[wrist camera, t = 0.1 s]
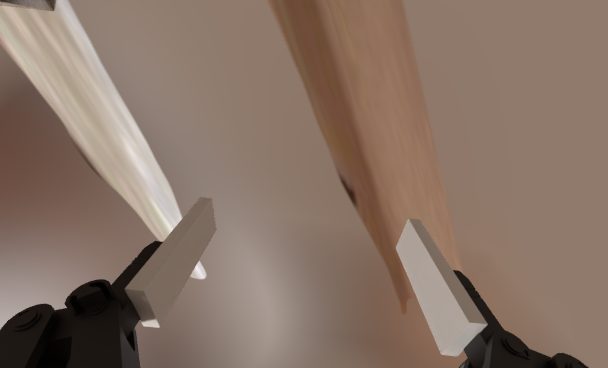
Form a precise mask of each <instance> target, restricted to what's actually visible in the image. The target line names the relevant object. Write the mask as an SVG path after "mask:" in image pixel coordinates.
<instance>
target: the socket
mask: <svg viewBox="0 0 608 368" xmlns="http://www.w3.org/2000/svg"><path fill="white" fill-rule="evenodd" d="M0 5H1V6H10V7H19V8H28V9H37V10H46V11H53V8H52V6H51V3H50V0H0Z"/></svg>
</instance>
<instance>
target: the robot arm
mask: <svg viewBox="0 0 608 368" xmlns="http://www.w3.org/2000/svg"><path fill="white" fill-rule="evenodd" d="M215 231H216V225H215V218H214V210H213V203H212V199H211V198H203V197H200V198H199V199H198V201H197V202H196V203H195V204H194V205H193V207H192V208H191V209H190V210H189V211H188V213H187V214H186V215H185V216H184V218H183V219H182V220H181V221H180V222H179V224H178V225H177V226H176V227H175V228H174V230H173V231H172V232H171V233H170V234H169V236H168V237H167V238H166V239H165V241H164V242H160V241H154V242H153V243H151V244H150V245H148V246H147V247H145V248H144V249H143V250H142V251H141V253H140V254H139V255H138V257H137V258H135V260H133V261H132V263H131V264H130V265H129V266H128V267H127V268H126V269H125V270H124V271H123V273H122V274H121V275H120V276H119V277H118V278H117V279H116V280H115V282H114V283H113V284H112V285H111V284H110V283H109V281H107V280H102V279H101V280H94V281H90V282H88V283H85V284H83V285H81V286H80V287H78V288H77V289H75V290H74V291H73V292H72V293H71V294H70V295H69V296H68V297H67V299H66V302H65V305H66V307H67V308H65V309H59V310H54V308H53V307H52V306H51V305H49V304H38V305H35V306H32V307H29V308H27V309H25V310H23V311H21V312H19V313H17V314H16V315H15V316H13V317H12V318H11V319H10V320H8V321H7V323H6V324H5V325H4V326H3V327H2V328H1V330H0V368H140V361H139V353H138V345H137V337H136V331H135V328H134V327H135V326H136V324H137V323H138V321H139V320H141V322H142V324H143V326H147V327H158V328H160V327H161V325H162V323H163V322H164V320H165V318H166V317H167V315H168V313H169V311H170V310H171V308H172V306H173V304H174V303H175V301H176V299H177V297H178V296H179V294H180V292H181V290H182V289H183V287H184V285H185V283H186V282H187V280H188V278H189V277H190V275H191V273H192V271H193V270H194V268H195V266H196V264H197V263H198V261H199V259H200V257H201V256H202V254H203V252H204V250H205V249H206V247H207V245H208V243H209V242H210V240H211V238H212V236H213V235H214V233H215ZM396 250H397V252H398V254H399V257H400V259H401V261H402V264H403V266H404V268H405V271H406V273H407V275H408V278H409V280H410V282H411V285H412V287H413V290H414V292H415V294H416V297H417V299H418V301H419V304H420V306H421V308H422V311H423V313H424V315H425V317H426V320H427V322H428V324H429V327H430V329H431V332H432V334H433V336H434V339H435V341H436V343H437V346H438V348H439V350H440V352H441V354H442V355H450V356H458V355H459V354H460V353H461V352H462V351H463V350H464V351H465V353H466V355H467V357H468V359H467V360H466V361H465V362H463V363H462V365H460V367H459V368H588V367H587V366H585V365H584V364H583V363H582V362H581V361H579V360H578V359H576V358H574V357H572V356H570V355H567V354H564V353H557V354H556V355H554V356H553V357H552V358H551V357H548V356H546V355H543V354H541V353H538V352H536V351H533V350H530V349H529V348H528V347H527V346H526V345H525V344H524V343H523V342H522V341H521V340H520V339H519V338H517V337H516V336H515V335H514V334H512V333H509V332H508V331H505V330H504V329H503V328H502V326H501V325H500V324H499V322H498V321H497V319H496V318H495V316H494V315H493V314H492V312H491V311H490V309H489V308H488V307H487V305H486V303H485V302H484V301H483V299H481V297H480V295H479V293H478V292H477V291H475V288H474V286H473V285H472V283H471V282H470V281H469V279H468V278H467V277H466V276H464V275H463V274H462V273H461V272H460V271H456V270H452V269H451V267H450V265H449V264H448V262H447V261H446V259H445V258H444V256H443V255H442V253H441V252H440V250H439V249H438V247H437V246H436V244H435V242H434V241H433V239H432V238H431V236H430V235H429V233H428V232H427V230H426V229H425V227H424V226H423V224H422V222H421V221H420V220H418V219H409V218H408V220H407V223H406V225H405V227H404V230H403V232H402V234H401V237H400V239H399V242H398V244H397V246H396Z"/></svg>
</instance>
